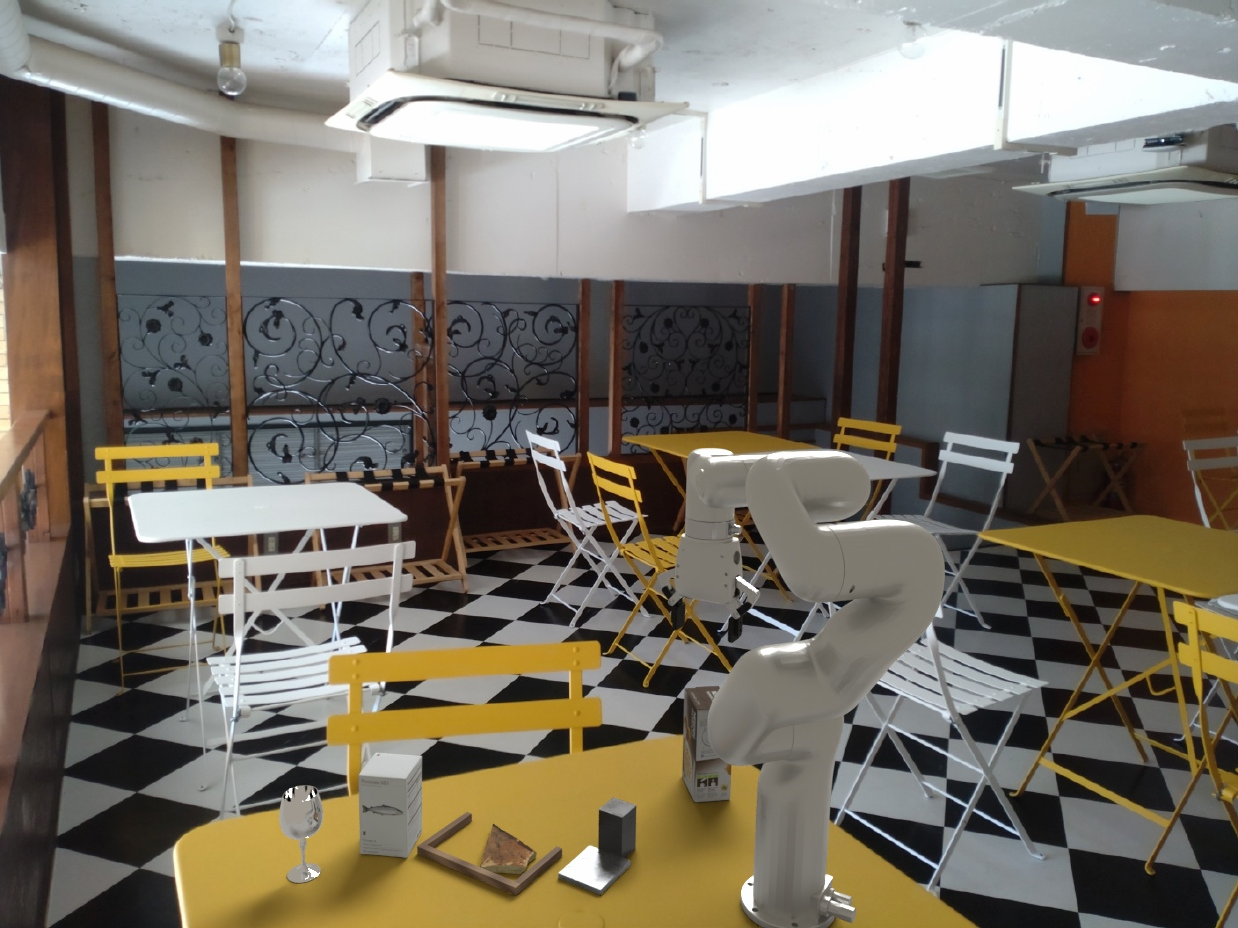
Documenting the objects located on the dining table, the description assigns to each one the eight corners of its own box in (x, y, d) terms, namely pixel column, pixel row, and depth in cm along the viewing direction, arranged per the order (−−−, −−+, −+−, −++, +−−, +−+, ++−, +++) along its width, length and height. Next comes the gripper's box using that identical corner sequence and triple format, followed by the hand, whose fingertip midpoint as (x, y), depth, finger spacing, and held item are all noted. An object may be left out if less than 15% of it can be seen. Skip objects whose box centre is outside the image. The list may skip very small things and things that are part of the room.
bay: (562, 855, 134) (562, 848, 134) (515, 895, 125) (515, 887, 125) (467, 818, 143) (466, 811, 143) (417, 853, 134) (417, 845, 134)
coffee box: (731, 800, 150) (735, 707, 147) (693, 803, 149) (697, 710, 146) (716, 772, 159) (719, 684, 156) (680, 775, 158) (682, 686, 155)
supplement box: (358, 855, 133) (355, 774, 131) (377, 827, 141) (375, 750, 138) (407, 859, 133) (405, 778, 130) (424, 831, 140) (422, 753, 138)
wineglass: (280, 888, 125) (276, 807, 123) (283, 864, 131) (280, 785, 129) (324, 882, 127) (321, 801, 125) (326, 858, 132) (323, 781, 130)
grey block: (604, 837, 139) (604, 794, 138) (644, 851, 136) (645, 807, 134) (558, 877, 129) (558, 832, 128) (600, 894, 125) (601, 847, 124)
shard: (493, 832, 141) (492, 821, 140) (542, 834, 140) (542, 823, 140) (478, 875, 130) (478, 864, 130) (532, 877, 130) (532, 866, 129)
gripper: (771, 531, 141) (766, 637, 144) (671, 516, 150) (668, 617, 153) (751, 541, 135) (746, 652, 138) (648, 525, 144) (646, 630, 147)
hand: (705, 633), depth 145 cm, fingers open, 9 cm apart
